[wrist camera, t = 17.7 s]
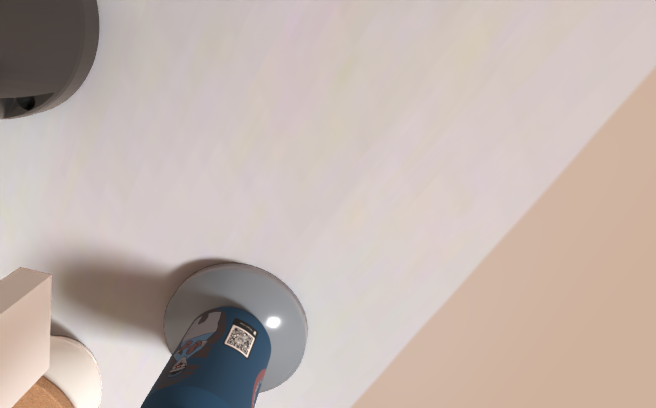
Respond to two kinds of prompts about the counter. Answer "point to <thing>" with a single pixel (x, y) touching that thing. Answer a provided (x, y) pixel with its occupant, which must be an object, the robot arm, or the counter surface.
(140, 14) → the counter surface
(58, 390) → the lidded jar
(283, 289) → the disc
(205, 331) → the soda can
